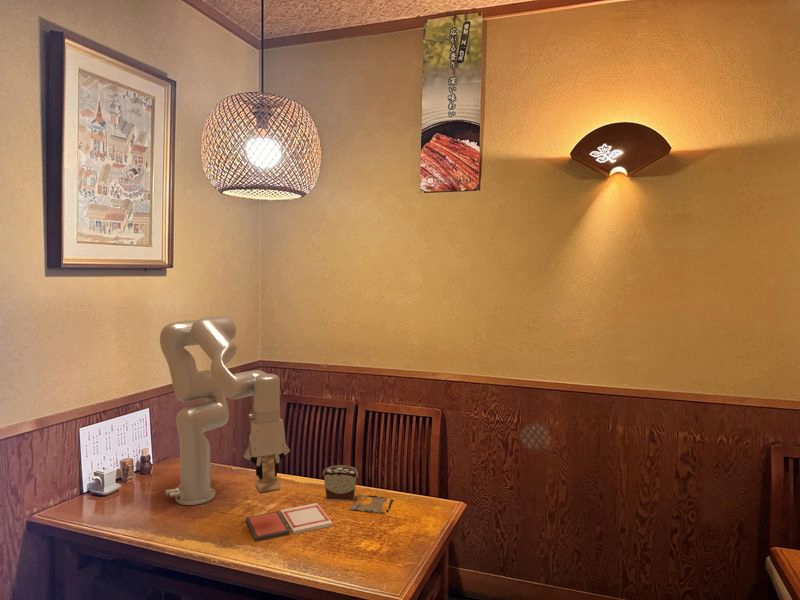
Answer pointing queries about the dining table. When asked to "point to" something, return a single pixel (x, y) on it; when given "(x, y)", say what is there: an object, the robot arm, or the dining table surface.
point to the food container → (340, 482)
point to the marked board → (306, 518)
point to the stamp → (267, 476)
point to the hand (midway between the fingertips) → (267, 475)
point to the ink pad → (267, 526)
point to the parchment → (371, 504)
